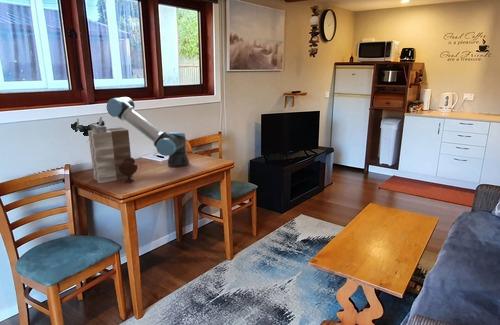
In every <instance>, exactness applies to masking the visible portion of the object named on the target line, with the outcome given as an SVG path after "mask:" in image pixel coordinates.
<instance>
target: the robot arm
mask: <svg viewBox="0 0 500 325" xmlns="http://www.w3.org/2000/svg"><path fill="white" fill-rule="evenodd" d="M106 109H107V111H108V113H109V114H110V115H111V116H112V117H113V118H116V117H117V118H118V119H119V120H120V121H122V122H123V121H126V123H128V124H129V125H131V126H132V127H134V129H136V130H137V131H138V132H140V133H141V134H143V135H144V137H146V138H147V139H149V141H151V142H153V146H154V147H155V148H156V151H157V152H158V154H160V155H162V156H165V157H167V156H168V158H167V166H168V167H170V168H171V167H173V168H182V167H187V166H189V165H190V160H189V156H188V155H187V144H186V143H187V142H186V138H187V137H186V133H184V132H174V131H173V132H168V133H167V132H166V131H161V130H160V129H158V128H157V127H155V125H153V124H152V123H151V122H149V121H148V120H147V119H146V118H144V117H143V116H142V115H140V114H139V113H138V112H137V111H135V102H134V100H133V99H132V98H130V97H128V96H121V97H113V98H110V99H109V100H107V103H106ZM76 120H77V121H76V122H75V123H74V124H71V128H72V129H73V130H75V132H77V131H78V130H79V131H80V132H84V133H83V135H84V136H89V134H88V131H91V130H93V129H91V128H90V125H88V126H83V125H79V123H80V122H79V118H77V119H76ZM96 124H98V125H101V126H105V125H106V123H105V121H103V120H102V117H100V119H99V122H97V123H96Z"/></svg>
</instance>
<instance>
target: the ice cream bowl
mask: <svg viewBox="0 0 500 325" xmlns="http://www.w3.org/2000/svg"><path fill="white" fill-rule="evenodd" d="M135 163H136V160H135V158H134V157H132V156H131V157H127V158H126V159H125V160H124V162H123V163H122V164H121V166H119V171H120V172H121V173H122V174H124V175H127V177H128V178H126V180H124V183H125V184H133V183H135V180H134V179H132V177H130V176H131V175H132V174H133V175H134V174H135V173H136V172H137V171H138V164H135ZM132 182H133V183H132Z"/></svg>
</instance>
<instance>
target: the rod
mask: <svg viewBox="0 0 500 325" xmlns="http://www.w3.org/2000/svg"><path fill="white" fill-rule="evenodd" d="M90 128H91V129H93V130H95V132H97V133H101V132H107V130H106V129H107V126H105V125H104V126H101V125H98V124H96V123H92V124H90Z"/></svg>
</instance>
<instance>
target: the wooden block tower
mask: <svg viewBox="0 0 500 325" xmlns="http://www.w3.org/2000/svg"><path fill="white" fill-rule="evenodd" d="M106 130H107V132H101V133H97V132H95V130H91V131H88V134H89V139H88V141H89V149H90V156H91V157H90V158H91V166H92V172H93V179H94V180H95V181H96V182H97V183H98V184H105V183H110V182H114V181H119V180H125V179H126V180H127V179H128V177H127V175H124V174H122V173H121V172H120V171H119V166H121V164H122V163H123V162H124V160H125V159H126V158H127V157H132V154H131V153H132V151H131V144H130V143H131V142H130V134H129V132H130V131H129V129H127V128H125V127H115V128H113V127H112V128H106ZM133 175H134V174H132V175H131V176H130V177H131V178H133V177H134V176H133Z"/></svg>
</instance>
